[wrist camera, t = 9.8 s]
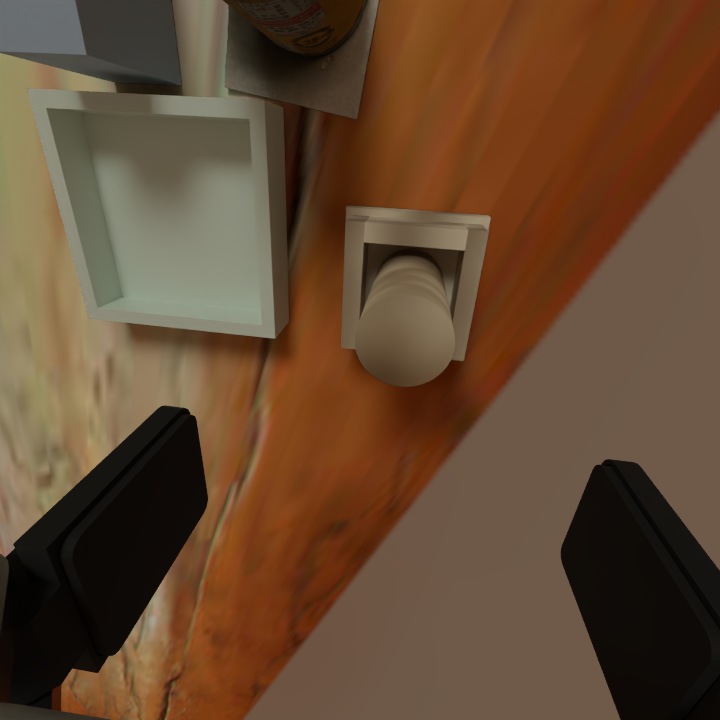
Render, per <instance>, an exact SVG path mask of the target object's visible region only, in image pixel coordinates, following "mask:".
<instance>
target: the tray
mask: <svg viewBox="0 0 720 720" xmlns="http://www.w3.org/2000/svg"><path fill="white" fill-rule="evenodd" d="M27 91H28V95H29V99H30V102H31V106H32V110H33V113H34V117H35V121H36V124H37V128H38V132H39V136H40V139H41V143H42V147H43V150H44V154H45V158H46V161H47V165H48V169H49V173H50V176H51V180H52V184H53V187H54V191H55V195H56V198H57V202H58V206H59V210H60V213H61V217H62V221H63V224H64V228H65V232H66V235H67V239H68V243H69V246H70V250H71V254H72V258H73V261H74V265H75V269H76V272H77V276H78V280H79V283H80V287H81V291H82V295H83V298H84V302H85V306H86V309H87V313H88V317H89V319H96V320H106V321H115V322H124V323H134V324H143V325H152V326H162V327H171V328H180V329H190V330H199V331H208V332H218V333H227V334H236V335H246V336H255V337H264V338H274V339H275V338H276V337H277V336H278V335H279V333H280V332H281V331H282V330H283V328H284V327H285V326H286V325H287V324H288V322H289V291H288V255H287V218H286V181H285V144H284V108H283V107H280V106H278V105H275V104H273V103H270V102H268V101H265V100H252V99H231V98H211V97H191V96H170V95H150V94H130V93H109V92H89V91H68V90H48V89H28V88H27Z"/></svg>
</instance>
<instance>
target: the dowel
mask: <svg viewBox="0 0 720 720" xmlns="http://www.w3.org/2000/svg"><path fill="white" fill-rule="evenodd" d="M355 349H356V353H357V356H358V358H359V360H360V362H361V364H362V365H363V367H364V368H365V369H366V370H367V371H368V372H369V373H370V374H371V375H372V376H374V377H375V378H376V379H378V380H380V381H382V382H384V383H387V384H390V385H393V386H399V387H412V386H418V385H421V384H424V383H427V382H429V381H431V380H433V379H434V378H436V377H437V376H438V375H440V374H441V373H442V372H443V371H444V370H445V368H446V367H447V366H448V364H449V363H450V361H451V359H452V356H453V353H454V349H455V334H454V328H453V324H452V319H451V314H450V309H449V304H448V299H447V294H446V289H445V284H444V279H443V274H442V271H441V268H440V266H439V264H438V263H437V261H436V260H435V259H434V258H433V257H432V256H431V255H429V254H428V253H426V252H424V251H421V250H418V249H403V250H399V251H397V252H395V253H393V254H391V255H390V256H388V257H387V258H386V259H385V260H384V262H383V263H382V264H381V266H380V268H379V270H378V272H377V275H376V278H375V280H374V283H373V286H372V288H371V291H370V293H369V296H368V299H367V301H366V304H365V307H364V309H363V312H362V315H361V317H360V320H359V322H358V325H357V328H356V332H355Z"/></svg>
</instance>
